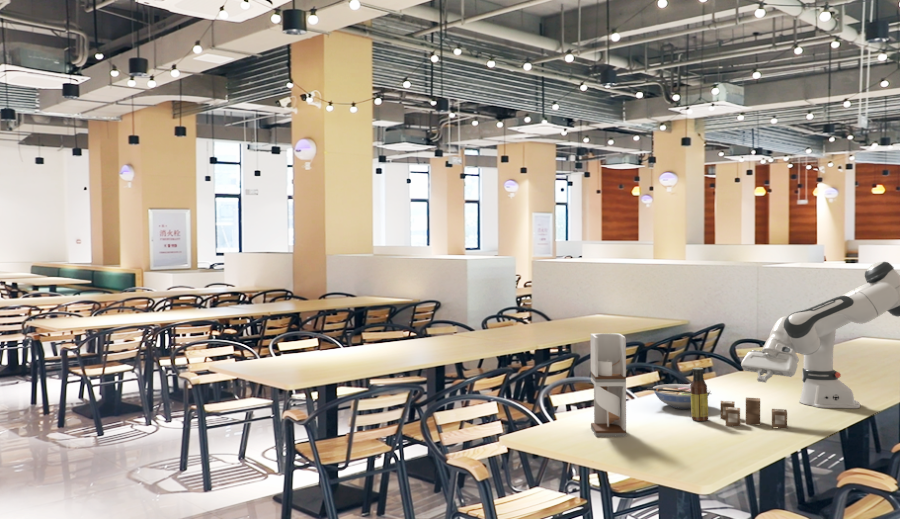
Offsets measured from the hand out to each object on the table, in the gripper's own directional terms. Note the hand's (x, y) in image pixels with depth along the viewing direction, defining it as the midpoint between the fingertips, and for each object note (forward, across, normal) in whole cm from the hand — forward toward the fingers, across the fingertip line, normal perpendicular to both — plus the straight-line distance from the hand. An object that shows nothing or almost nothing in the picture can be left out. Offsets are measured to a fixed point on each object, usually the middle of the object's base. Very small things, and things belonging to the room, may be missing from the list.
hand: (761, 381), depth 292 cm
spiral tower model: (+49, -28, -27) cm, 63 cm away
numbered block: (+12, +8, +10) cm, 17 cm away
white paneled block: (+13, -12, +9) cm, 20 cm away
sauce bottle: (+21, -17, +1) cm, 27 cm away
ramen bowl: (+11, -35, +11) cm, 38 cm away
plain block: (+13, -2, +9) cm, 16 cm away
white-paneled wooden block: (+19, -5, +3) cm, 20 cm away
